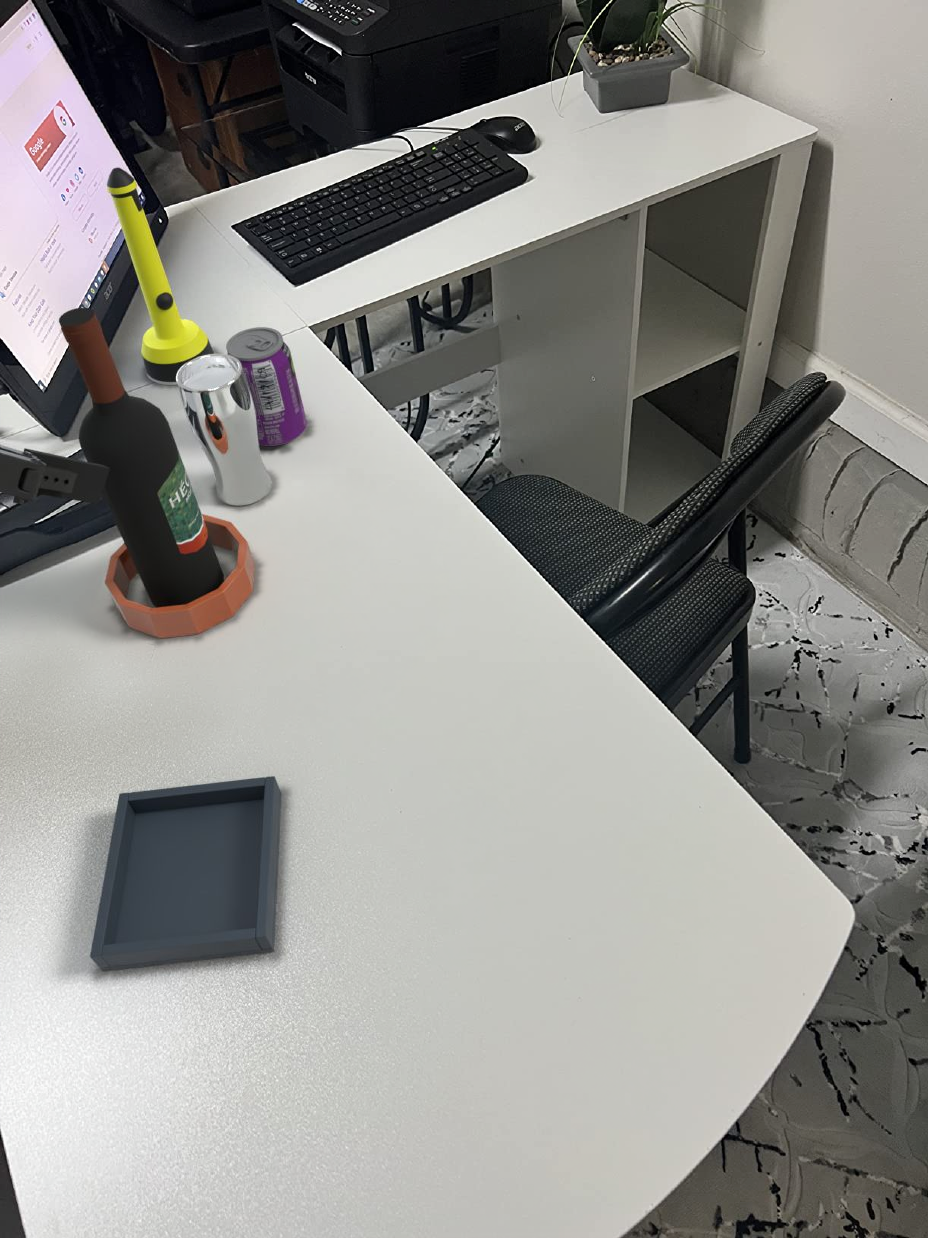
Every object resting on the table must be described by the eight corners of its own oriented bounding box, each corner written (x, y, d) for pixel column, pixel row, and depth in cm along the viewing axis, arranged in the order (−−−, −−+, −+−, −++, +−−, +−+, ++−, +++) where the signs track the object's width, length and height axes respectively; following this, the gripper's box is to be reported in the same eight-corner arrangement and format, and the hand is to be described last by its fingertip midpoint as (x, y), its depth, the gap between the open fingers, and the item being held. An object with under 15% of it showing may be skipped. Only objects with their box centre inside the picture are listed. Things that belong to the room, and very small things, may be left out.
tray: (102, 971, 70) (89, 957, 68) (129, 810, 80) (119, 793, 78) (274, 952, 70) (266, 936, 69) (281, 792, 80) (274, 775, 78)
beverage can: (319, 421, 114) (299, 330, 105) (287, 456, 110) (264, 365, 101) (269, 409, 117) (245, 319, 108) (236, 443, 112) (208, 353, 103)
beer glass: (289, 480, 107) (258, 363, 96) (246, 516, 103) (209, 399, 92) (243, 461, 110) (208, 345, 99) (200, 495, 106) (159, 379, 95)
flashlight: (62, 168, 107) (93, 194, 102) (137, 144, 110) (170, 167, 105) (135, 363, 126) (164, 393, 120) (197, 338, 129) (227, 365, 124)
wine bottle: (155, 563, 100) (39, 296, 77) (227, 556, 99) (132, 287, 77) (143, 617, 94) (16, 348, 72) (220, 609, 94) (116, 337, 72)
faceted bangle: (90, 614, 95) (77, 590, 93) (173, 527, 103) (163, 502, 101) (202, 653, 91) (192, 628, 88) (279, 558, 99) (272, 533, 96)
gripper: (-399, 387, 59) (-69, 450, 78) (-185, 527, 48) (138, 562, 67) (-372, 266, 58) (-44, 361, 77) (-146, 383, 47) (171, 459, 66)
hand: (41, 455), depth 72 cm, fingers open, 13 cm apart
